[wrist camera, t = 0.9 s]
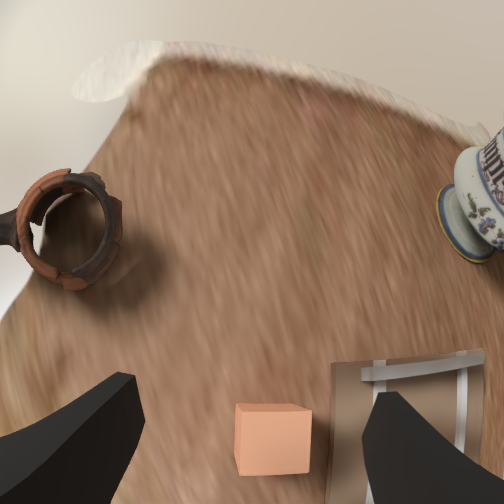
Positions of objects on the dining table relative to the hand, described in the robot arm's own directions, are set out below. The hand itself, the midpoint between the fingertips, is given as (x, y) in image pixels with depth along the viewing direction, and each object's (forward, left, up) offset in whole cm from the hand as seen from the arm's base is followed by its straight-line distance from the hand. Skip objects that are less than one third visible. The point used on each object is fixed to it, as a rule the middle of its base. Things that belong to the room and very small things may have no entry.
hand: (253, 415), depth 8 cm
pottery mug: (+10, +15, -14) cm, 23 cm away
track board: (-13, -15, -13) cm, 24 cm away
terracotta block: (-3, -2, -13) cm, 14 cm away
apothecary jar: (+16, -25, -14) cm, 33 cm away
